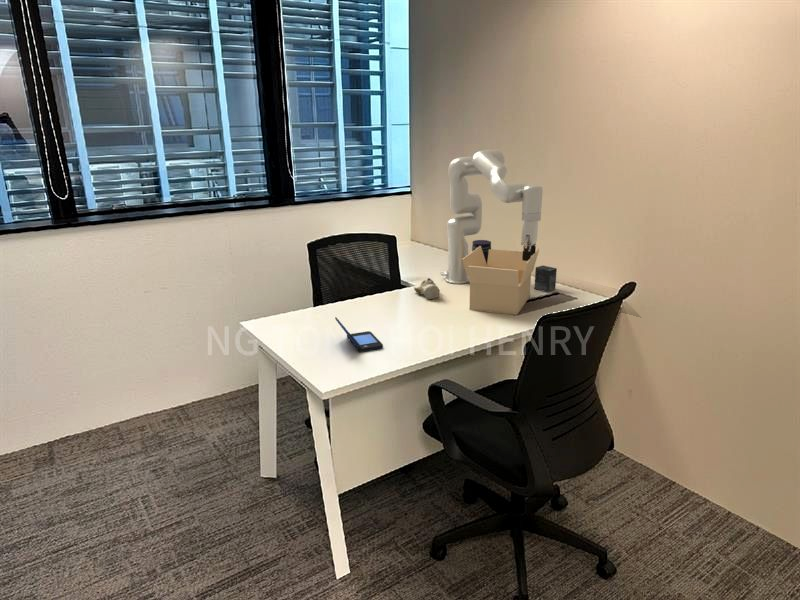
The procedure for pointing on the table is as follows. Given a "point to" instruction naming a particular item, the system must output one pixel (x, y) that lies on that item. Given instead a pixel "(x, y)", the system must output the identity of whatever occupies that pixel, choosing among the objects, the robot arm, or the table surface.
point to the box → (545, 278)
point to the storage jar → (484, 245)
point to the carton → (497, 281)
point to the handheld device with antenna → (362, 340)
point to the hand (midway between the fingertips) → (528, 257)
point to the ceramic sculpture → (428, 289)
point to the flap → (529, 267)
